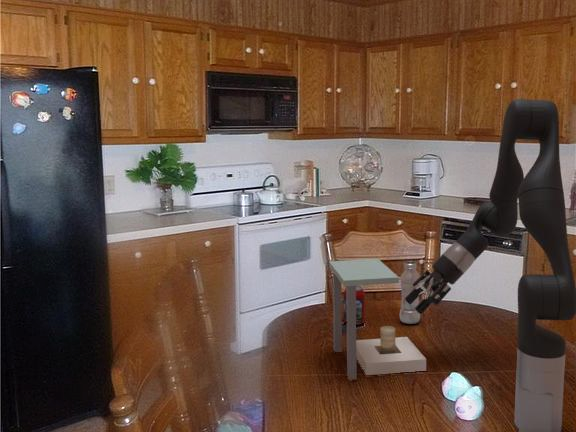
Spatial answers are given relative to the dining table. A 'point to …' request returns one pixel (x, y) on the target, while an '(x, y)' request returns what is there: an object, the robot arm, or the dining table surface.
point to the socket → (389, 357)
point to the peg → (387, 340)
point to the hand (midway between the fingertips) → (412, 306)
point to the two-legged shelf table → (354, 299)
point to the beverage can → (357, 304)
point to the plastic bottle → (407, 280)
